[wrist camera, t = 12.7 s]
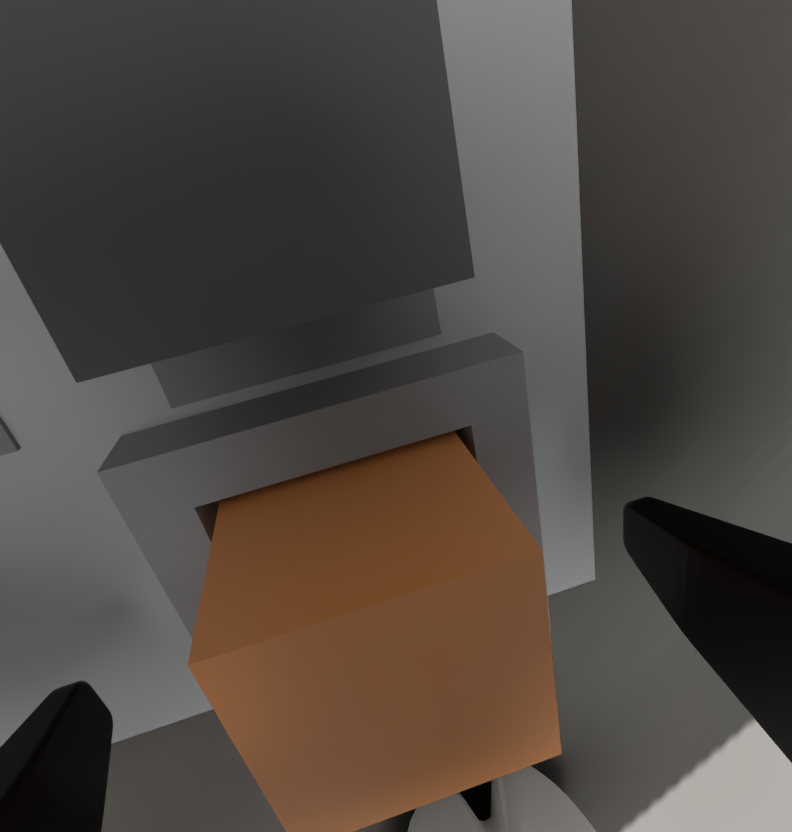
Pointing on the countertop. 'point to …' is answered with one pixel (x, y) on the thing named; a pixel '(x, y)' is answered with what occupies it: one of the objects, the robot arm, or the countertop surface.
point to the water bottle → (507, 809)
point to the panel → (267, 296)
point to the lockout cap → (377, 636)
